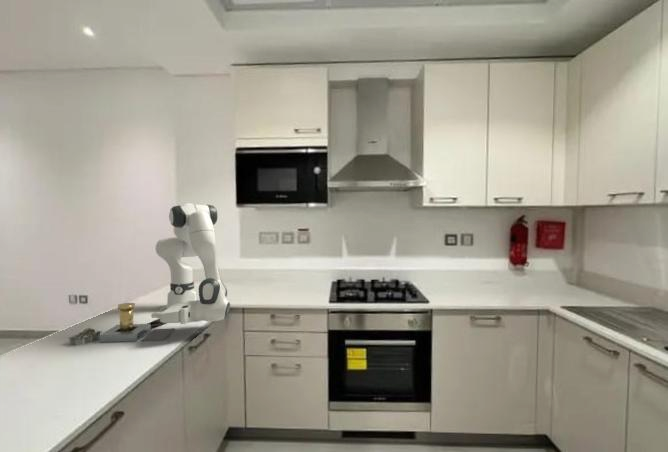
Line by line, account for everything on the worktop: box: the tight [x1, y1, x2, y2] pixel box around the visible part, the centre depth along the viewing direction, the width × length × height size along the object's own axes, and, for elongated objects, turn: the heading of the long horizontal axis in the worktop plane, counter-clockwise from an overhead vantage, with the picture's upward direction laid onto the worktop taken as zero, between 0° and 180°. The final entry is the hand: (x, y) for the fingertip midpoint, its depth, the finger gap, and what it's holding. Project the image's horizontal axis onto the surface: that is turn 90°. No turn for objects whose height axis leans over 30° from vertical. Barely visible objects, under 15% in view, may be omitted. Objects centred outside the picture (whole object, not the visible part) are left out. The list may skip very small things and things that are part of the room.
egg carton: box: [67, 327, 102, 346], centre depth 150 cm, size 11×8×4 cm
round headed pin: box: [117, 302, 136, 332], centre depth 155 cm, size 6×6×14 cm
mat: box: [140, 327, 176, 342], centre depth 156 cm, size 14×9×1 cm, turn 6°
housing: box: [99, 323, 152, 343], centre depth 155 cm, size 14×14×3 cm
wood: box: [146, 318, 166, 329], centre depth 173 cm, size 22×7×3 cm, turn 165°
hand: (156, 312), depth 156 cm, fingers open, 8 cm apart
